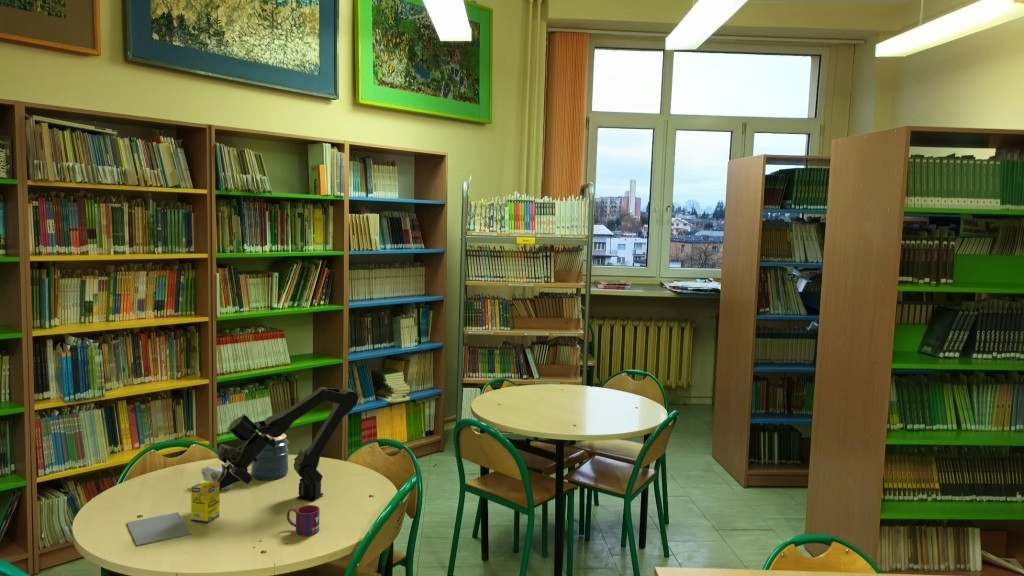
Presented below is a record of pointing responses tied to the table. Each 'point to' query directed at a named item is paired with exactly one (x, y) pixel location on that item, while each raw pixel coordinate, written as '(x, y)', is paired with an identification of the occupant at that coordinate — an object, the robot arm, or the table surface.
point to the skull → (212, 474)
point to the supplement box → (205, 501)
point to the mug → (306, 520)
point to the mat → (158, 528)
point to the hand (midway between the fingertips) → (214, 490)
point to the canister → (272, 460)
